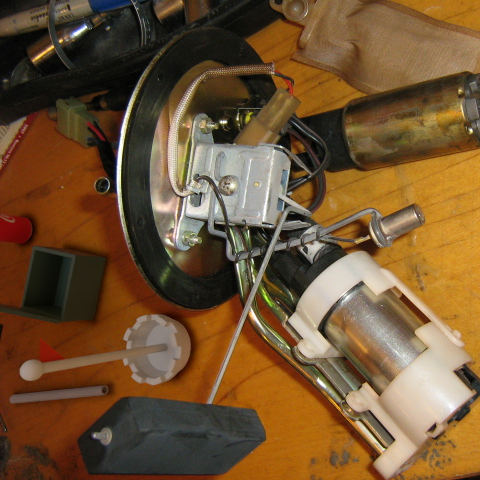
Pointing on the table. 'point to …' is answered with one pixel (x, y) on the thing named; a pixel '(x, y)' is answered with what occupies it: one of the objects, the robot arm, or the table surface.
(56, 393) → the metal rod
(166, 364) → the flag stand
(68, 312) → the dark green open box
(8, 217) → the beverage can
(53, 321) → the box lid
